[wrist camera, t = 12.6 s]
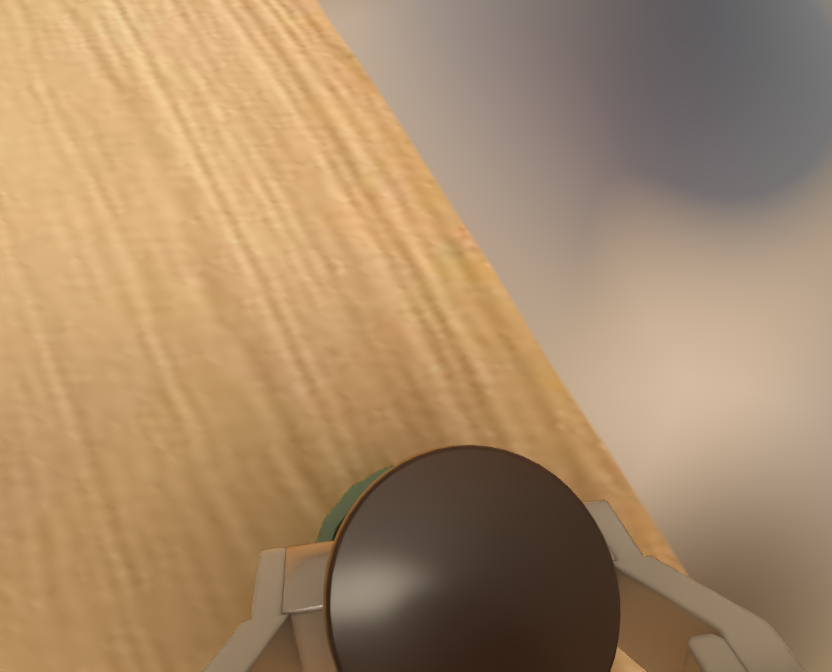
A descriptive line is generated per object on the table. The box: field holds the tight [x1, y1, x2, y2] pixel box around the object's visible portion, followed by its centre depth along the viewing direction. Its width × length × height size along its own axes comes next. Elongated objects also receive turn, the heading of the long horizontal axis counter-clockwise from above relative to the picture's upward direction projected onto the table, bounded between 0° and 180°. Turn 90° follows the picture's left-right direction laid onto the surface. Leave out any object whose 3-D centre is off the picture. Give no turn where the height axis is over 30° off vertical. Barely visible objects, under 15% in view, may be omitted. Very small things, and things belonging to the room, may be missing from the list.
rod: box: [323, 445, 621, 672], centre depth 14 cm, size 4×4×13 cm
